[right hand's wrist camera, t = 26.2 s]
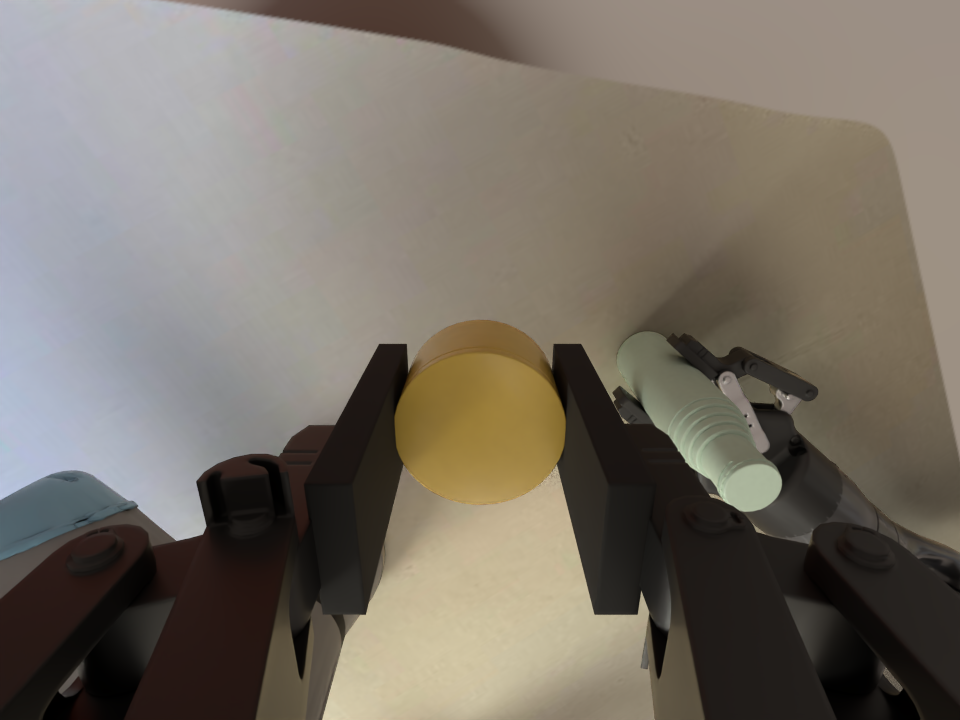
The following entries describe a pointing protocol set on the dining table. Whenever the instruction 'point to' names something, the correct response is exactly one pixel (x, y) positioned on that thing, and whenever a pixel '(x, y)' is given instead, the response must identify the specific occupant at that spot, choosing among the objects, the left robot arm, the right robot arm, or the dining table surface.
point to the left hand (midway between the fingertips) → (645, 368)
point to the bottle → (698, 421)
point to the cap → (480, 414)
